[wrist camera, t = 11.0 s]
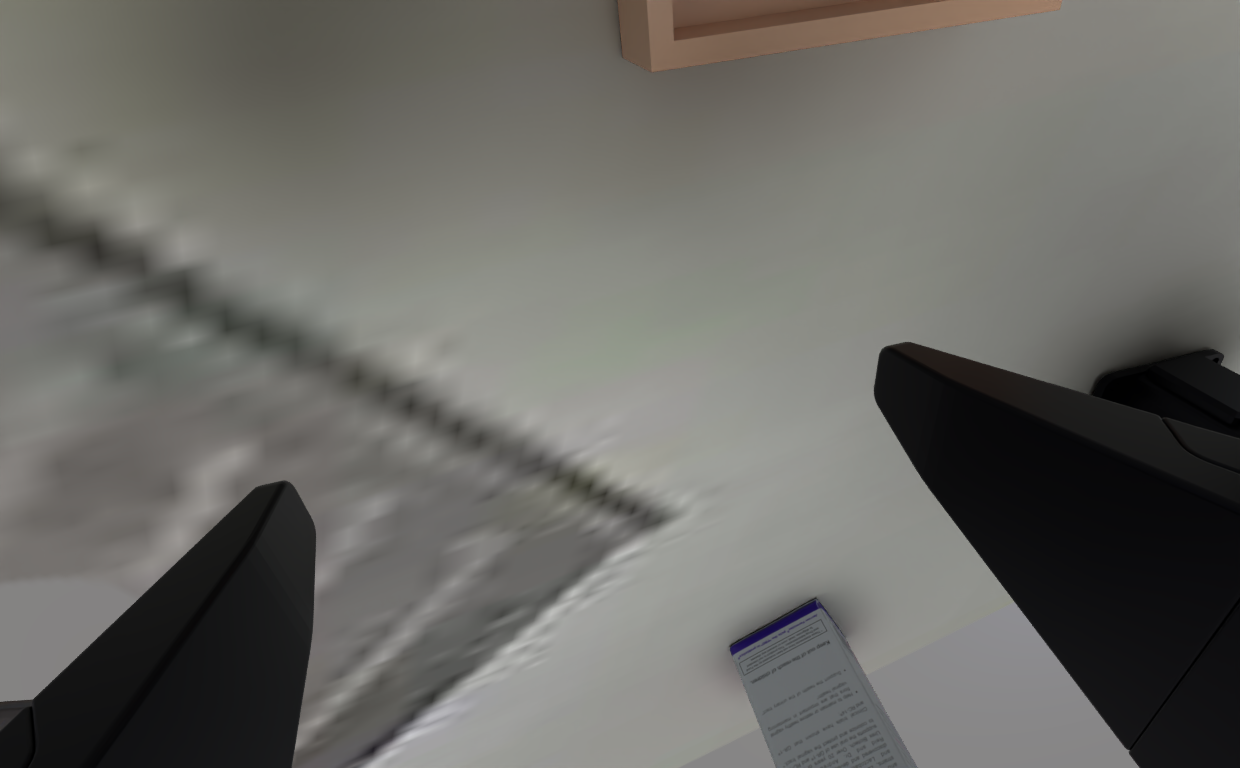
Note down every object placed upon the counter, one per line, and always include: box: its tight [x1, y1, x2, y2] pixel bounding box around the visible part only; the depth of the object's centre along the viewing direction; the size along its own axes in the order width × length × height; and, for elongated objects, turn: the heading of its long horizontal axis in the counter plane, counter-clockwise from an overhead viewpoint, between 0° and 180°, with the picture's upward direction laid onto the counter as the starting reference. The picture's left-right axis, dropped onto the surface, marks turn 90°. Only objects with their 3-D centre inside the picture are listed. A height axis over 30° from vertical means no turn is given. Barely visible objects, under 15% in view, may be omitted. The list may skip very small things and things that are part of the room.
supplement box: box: [730, 599, 918, 768], centre depth 32 cm, size 6×6×12 cm
